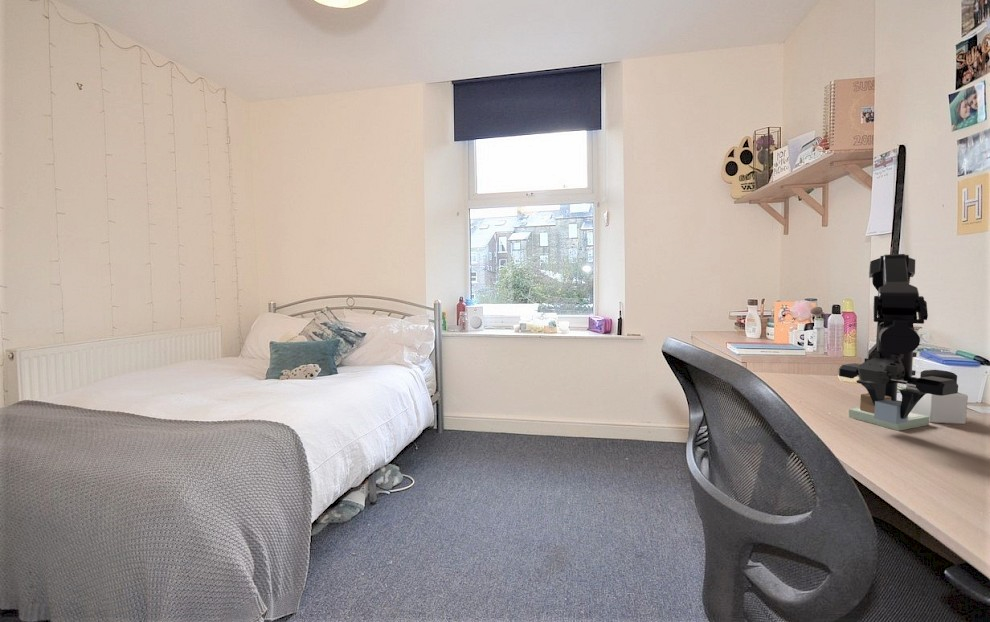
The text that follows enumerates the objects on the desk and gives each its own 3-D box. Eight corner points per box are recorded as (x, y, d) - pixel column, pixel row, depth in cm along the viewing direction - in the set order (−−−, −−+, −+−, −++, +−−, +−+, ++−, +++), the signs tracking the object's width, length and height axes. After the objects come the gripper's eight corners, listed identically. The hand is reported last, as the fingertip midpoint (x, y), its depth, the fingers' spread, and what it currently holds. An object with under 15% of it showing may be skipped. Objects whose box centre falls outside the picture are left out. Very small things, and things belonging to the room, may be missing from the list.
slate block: (885, 416, 93) (886, 399, 93) (907, 421, 89) (908, 404, 89) (874, 418, 92) (875, 401, 92) (895, 424, 88) (897, 406, 88)
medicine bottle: (966, 424, 95) (970, 374, 94) (930, 422, 96) (933, 373, 96) (940, 414, 102) (943, 368, 101) (906, 413, 103) (909, 367, 103)
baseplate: (877, 411, 105) (878, 404, 105) (928, 424, 95) (929, 416, 95) (848, 416, 101) (849, 408, 101) (898, 430, 92) (899, 421, 92)
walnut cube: (870, 408, 101) (871, 392, 101) (890, 413, 98) (891, 397, 97) (860, 410, 100) (860, 394, 100) (879, 415, 96) (880, 398, 96)
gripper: (824, 343, 96) (821, 407, 97) (927, 357, 78) (922, 435, 79) (855, 340, 99) (852, 402, 100) (962, 353, 82) (956, 427, 83)
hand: (890, 415), depth 91 cm, fingers closed on slate block, 4 cm apart
